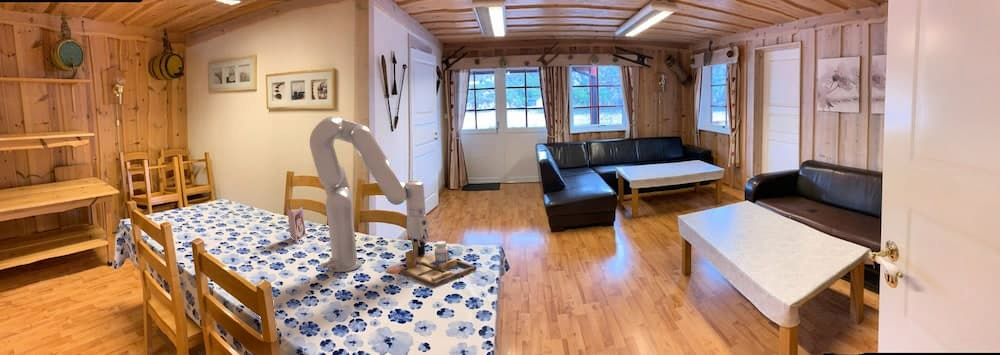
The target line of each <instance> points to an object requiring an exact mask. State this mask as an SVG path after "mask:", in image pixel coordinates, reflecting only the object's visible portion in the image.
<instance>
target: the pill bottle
mask: <svg viewBox="0 0 1000 355" xmlns="http://www.w3.org/2000/svg"><path fill="white" fill-rule="evenodd" d="M435 246H436V247H435V248H434V256H435V261H436V263H435V266H437V267H439V264H441V263H444V262H446V261H449V257H450V254H449V247H448V246H447V242H446V241H445V240H440V241H436V242H435Z"/></svg>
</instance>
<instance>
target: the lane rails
mask: <svg viewBox="0 0 1000 355" xmlns="http://www.w3.org/2000/svg"><path fill="white" fill-rule="evenodd" d="M452 259H454V258H452V257H450V256H449V260H452ZM421 265H423V266H426V267H429V268H431V269H433V271H431V272H428V273H426V274H423V275H420V276H418V275H416V274H413V273H411V272H408V271H406V270H407V269H406V270H403V269H402V270H401V272H400V275H403V276H405V277H408V278H411V279H413V280H415V281H418V282H420V283H422V284H425V285H427V286H429V287H432V288H435V287H437V286H440V285H442V284H444V283H447V282H450V281H453V280H455V279H457V278H461V277H462V276H465V275H467V274H470V273H473V272H474V271H475V272H476V271H477V266H476V265H474V264H470V263H468V262H464V261H462V260H458V259H457V265H456V266H460V267H462V268H465V269H462V270H460V271H458V272H453V271H449V270H448V269H446V270H444V269H441V268H439V267H436V265H434V264H432V265H430V264H428V263H425V262H422V264H421ZM433 265H434V266H433Z"/></svg>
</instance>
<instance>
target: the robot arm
mask: <svg viewBox="0 0 1000 355" xmlns="http://www.w3.org/2000/svg"><path fill="white" fill-rule="evenodd" d="M335 140H339V141H343V142H346V143H350V144H352V147H353V148H354V149H355V151H356V153H357V154H358V155H359V157H360V158H361V160H362V161H363V163H364V165H365V167H366V168H367V170H368V172H369V173H370V175H371V176H372V177H373V179H374V181H375V182H376V184H377V185H378V187H379V189H380V190H381V192H382V193H383V195H384V196H385V197H386V199H387V201H388V202H389V203H390V204H392V205H394V206H398V205H401V204H403V203H404V202H405V203H406V233H407V236H408V238H409V239H410V241H411V245H412V251H414V242H415V241H418V246H419V247H417V248H418V256H421V255H426V249H425V246H426V245H427V243H429V238H430V236H431V235H430V227H429V219H428V216H427V214H426V202H425V187H424V186H425V185H424V183H423V182H422V181H417V180H414V181H408V182H403V181H401V182H400V180H399V178H398V177H397V176H396V174H395V172H394V171H393V168H392V166H391V164H390V161H389V159H388V157H387V155H386V154H385V152H384V151H383V150H382V148H381V146H380V144H379V143H378V141H377V140H376V138H375V137H374V135H373V133H372V131H371V129H370V128H369V127H368V126H367V125H364V124H362V123H361V124H360V123H357V122H354V121H351V120H347V119H343V118H340V117H337V116H332V115H331V116H327V117H325V118H323V119H322V120H321V121H320V122H318V124H316V125H315V127H314V128H313V130H312V131H311V133H310V137H309V147H310V152H311V155H312V158H313V163H314V166H315V169H316V174H317V176H318V180H319V183H320V184H321V185H322V186H323V188H324V191H325V194H326V201H325V209H326V216H327V224H328V233H329V242H330V251H331V257H329V260H327V261H325V262H321V263H320V268H321V269H324V268H327V269H328V270H329V271H331V272H334V273H346V272H352V271H355V270H357V269H359V268H360V267H361V266H362V261H361V260H360V259H358V254H357V245H356V244H357V243H356V234H355V233H356V232H355V224H354V223H355V222H354V215H353V214H354V213H353V195H352V191H351V188H350V184H349V181H348V177H347V175H346V172H345V169H344V167H343V165H342V164H341V163H339V159H338V156H337V152H336V150H335V146H334V143H335Z"/></svg>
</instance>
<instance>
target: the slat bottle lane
mask: <svg viewBox="0 0 1000 355" xmlns="http://www.w3.org/2000/svg"><path fill="white" fill-rule="evenodd" d="M417 247H419V246H418V241H415V242H414V251H415V255H416V263H418V264H420V265H422V262H425V263H428V264H430V265H433V266H436V261H435V254H430V253H427V254H426V253H425V254H424V255H421V256H418V248H417ZM457 260H458V259H456V258H453V259H452V260H449V261H446V262H444V263H441V264H439V268H441V269H444V270H448V269H450V268H453V267H456V266H458V265H457ZM434 264H435V265H434ZM436 267H437V266H436Z"/></svg>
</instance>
